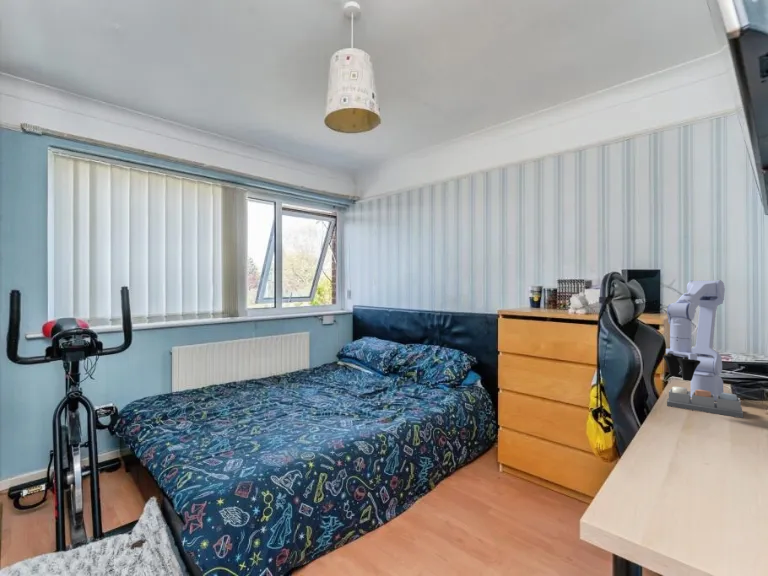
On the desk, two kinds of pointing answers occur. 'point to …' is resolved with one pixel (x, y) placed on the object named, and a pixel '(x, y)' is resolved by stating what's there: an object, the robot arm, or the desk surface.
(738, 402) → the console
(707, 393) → the terracotta button
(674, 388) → the cream button
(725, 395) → the bluegrey button
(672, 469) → the desk surface
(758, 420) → the desk surface
